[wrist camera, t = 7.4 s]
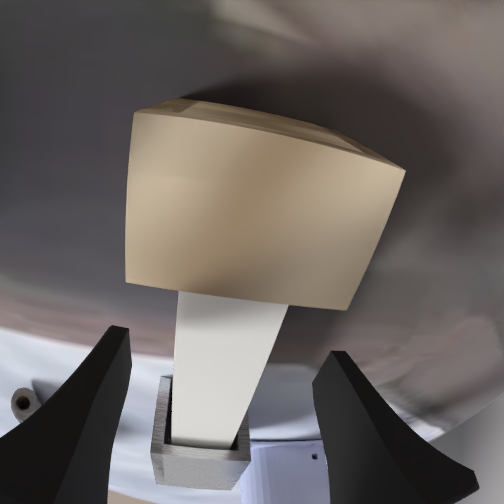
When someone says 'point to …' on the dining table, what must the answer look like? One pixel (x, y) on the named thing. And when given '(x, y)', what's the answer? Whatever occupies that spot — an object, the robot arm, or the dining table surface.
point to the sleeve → (195, 453)
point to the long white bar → (218, 365)
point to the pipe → (24, 403)
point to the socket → (252, 205)
